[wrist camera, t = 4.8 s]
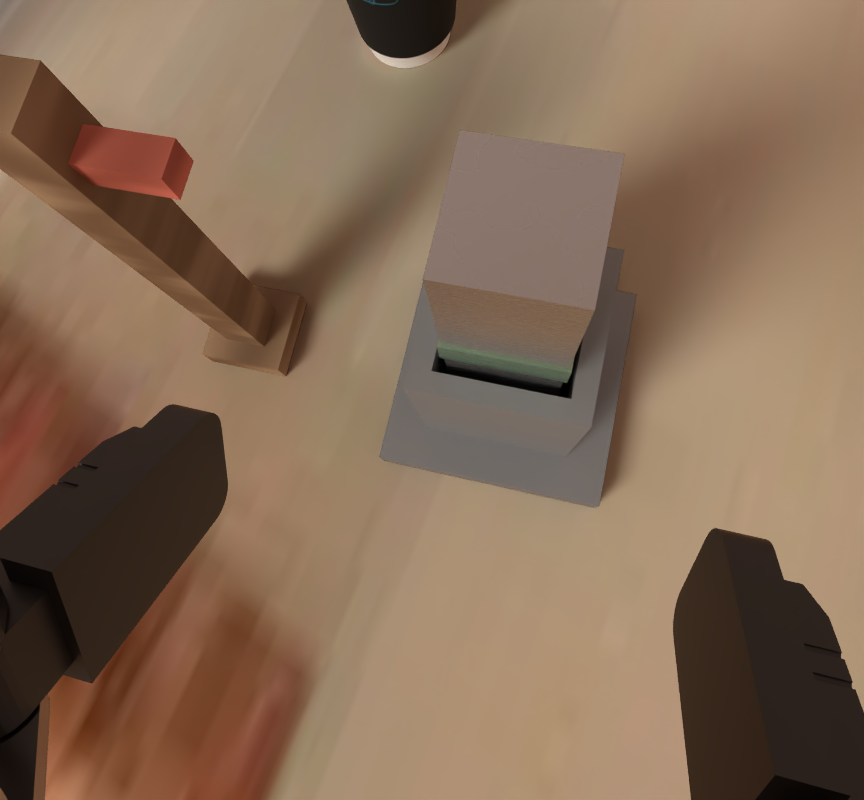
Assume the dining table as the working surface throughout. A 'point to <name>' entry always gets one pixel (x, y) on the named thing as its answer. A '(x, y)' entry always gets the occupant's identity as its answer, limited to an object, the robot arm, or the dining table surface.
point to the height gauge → (138, 213)
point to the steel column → (519, 257)
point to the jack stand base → (515, 410)
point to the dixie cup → (404, 29)
